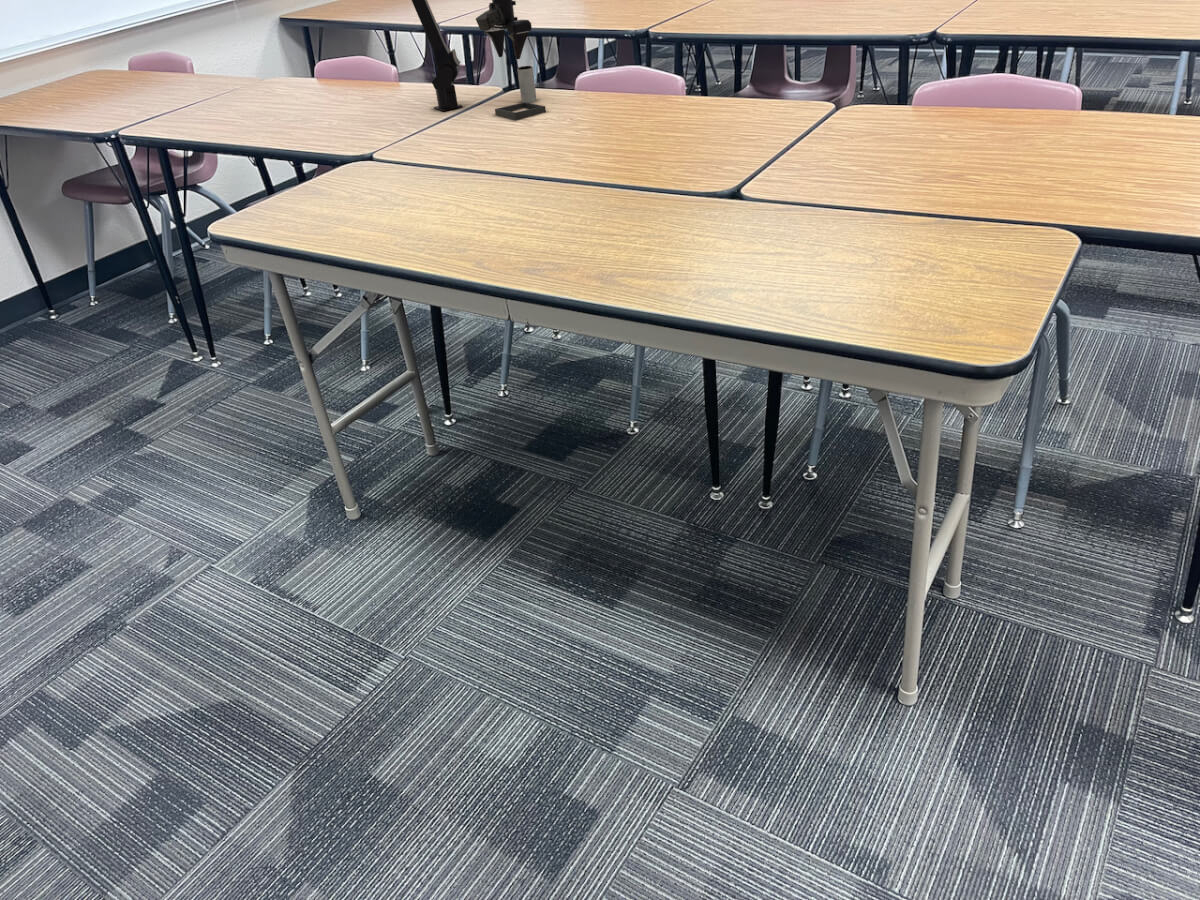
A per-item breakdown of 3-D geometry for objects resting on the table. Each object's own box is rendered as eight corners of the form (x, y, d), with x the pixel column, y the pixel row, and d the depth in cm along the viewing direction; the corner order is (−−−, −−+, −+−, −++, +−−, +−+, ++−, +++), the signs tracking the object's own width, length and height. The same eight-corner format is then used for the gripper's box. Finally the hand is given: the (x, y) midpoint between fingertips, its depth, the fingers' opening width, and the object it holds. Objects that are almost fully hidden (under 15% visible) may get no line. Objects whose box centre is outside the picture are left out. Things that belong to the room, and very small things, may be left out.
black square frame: (495, 116, 243) (494, 108, 242) (525, 109, 248) (524, 102, 247) (515, 120, 236) (514, 113, 235) (546, 113, 241) (545, 106, 240)
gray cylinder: (538, 102, 255) (533, 65, 249) (536, 105, 251) (531, 68, 245) (523, 103, 255) (518, 66, 249) (520, 106, 252) (516, 69, 246)
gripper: (460, 0, 241) (469, 60, 250) (495, 2, 229) (503, 65, 237) (493, -4, 247) (500, 54, 255) (529, -3, 234) (536, 58, 243)
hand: (509, 58), depth 247 cm, fingers open, 9 cm apart
